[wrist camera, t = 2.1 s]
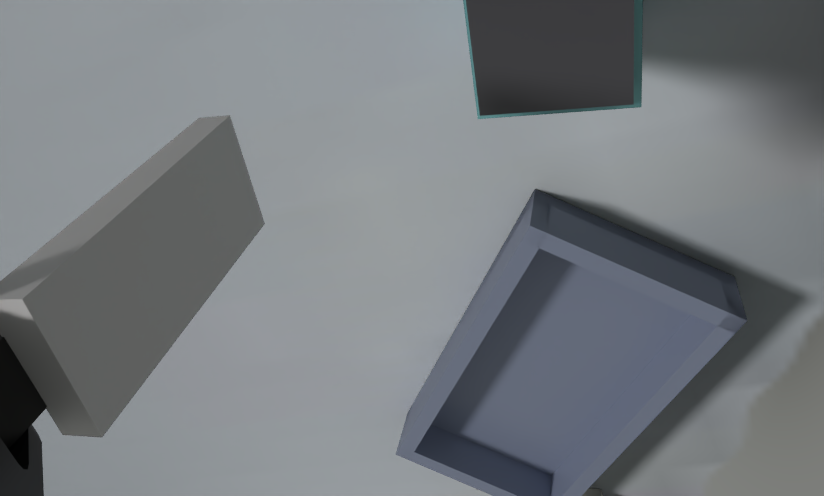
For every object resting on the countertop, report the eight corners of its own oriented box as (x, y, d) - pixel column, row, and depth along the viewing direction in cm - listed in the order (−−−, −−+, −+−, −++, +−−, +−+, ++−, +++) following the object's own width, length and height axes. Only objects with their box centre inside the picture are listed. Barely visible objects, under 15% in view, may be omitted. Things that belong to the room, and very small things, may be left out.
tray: (535, 189, 29) (529, 225, 27) (734, 276, 30) (747, 320, 27) (407, 412, 39) (395, 454, 37) (558, 477, 39) (556, 522, 37)
